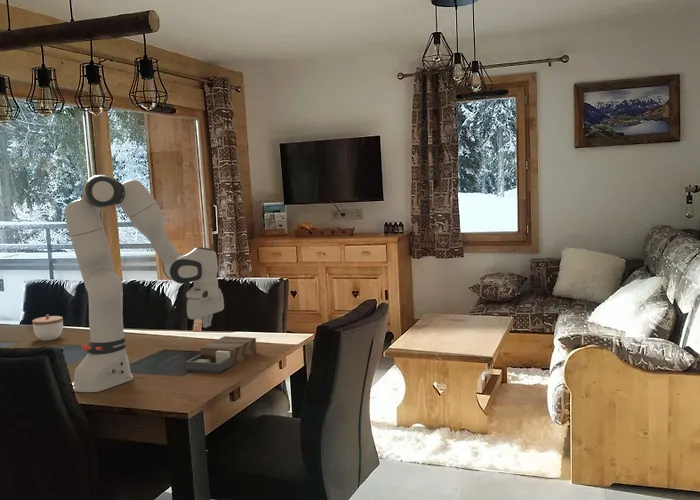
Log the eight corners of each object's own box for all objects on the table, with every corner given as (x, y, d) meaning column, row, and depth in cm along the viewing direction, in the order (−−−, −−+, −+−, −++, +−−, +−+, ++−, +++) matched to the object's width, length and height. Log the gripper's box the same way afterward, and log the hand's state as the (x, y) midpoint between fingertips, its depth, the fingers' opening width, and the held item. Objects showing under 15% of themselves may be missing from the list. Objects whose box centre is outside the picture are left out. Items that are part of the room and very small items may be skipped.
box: (219, 373, 225) (219, 363, 224) (186, 370, 229) (185, 361, 229) (233, 365, 234) (233, 356, 234) (201, 363, 239) (200, 354, 238)
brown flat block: (233, 365, 234) (233, 349, 233) (201, 363, 239) (200, 347, 238) (256, 352, 251) (255, 337, 250) (225, 350, 256) (224, 336, 255)
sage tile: (210, 359, 234) (210, 364, 234) (198, 358, 235) (199, 364, 235) (203, 363, 229) (203, 368, 229) (191, 362, 231) (191, 367, 231)
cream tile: (230, 364, 234) (228, 365, 232) (219, 363, 235) (216, 364, 233) (230, 351, 233) (227, 352, 231) (218, 350, 235) (215, 351, 233)
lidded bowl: (44, 343, 278) (42, 318, 277) (27, 340, 285) (25, 316, 284) (70, 336, 289) (68, 313, 288) (53, 334, 295) (51, 310, 294)
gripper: (213, 286, 246) (214, 320, 248) (183, 294, 227) (184, 331, 228) (227, 286, 244) (228, 321, 245) (198, 294, 225) (199, 333, 226)
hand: (206, 326), depth 237 cm, fingers closed
